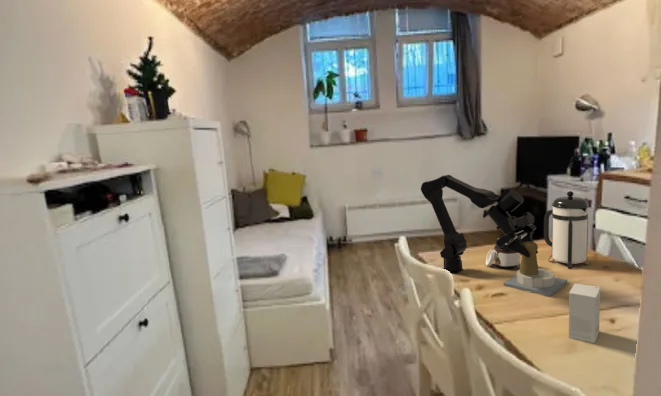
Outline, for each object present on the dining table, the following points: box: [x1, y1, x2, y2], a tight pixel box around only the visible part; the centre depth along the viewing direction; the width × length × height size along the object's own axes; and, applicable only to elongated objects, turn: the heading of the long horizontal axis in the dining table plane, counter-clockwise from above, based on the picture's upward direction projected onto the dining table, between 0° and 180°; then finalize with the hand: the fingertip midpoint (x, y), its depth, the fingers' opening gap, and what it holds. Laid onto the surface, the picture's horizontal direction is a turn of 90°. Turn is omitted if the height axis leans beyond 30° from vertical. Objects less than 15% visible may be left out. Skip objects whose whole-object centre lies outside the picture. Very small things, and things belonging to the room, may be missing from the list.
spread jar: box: [485, 237, 521, 270], centre depth 166 cm, size 12×11×12 cm
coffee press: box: [543, 190, 591, 270], centre depth 163 cm, size 17×16×30 cm
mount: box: [503, 267, 568, 297], centre depth 146 cm, size 16×16×4 cm
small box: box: [568, 283, 601, 344], centre depth 109 cm, size 8×6×13 cm
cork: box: [519, 241, 539, 276], centre depth 139 cm, size 6×6×11 cm
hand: (533, 255), depth 138 cm, fingers closed on cork, 5 cm apart
